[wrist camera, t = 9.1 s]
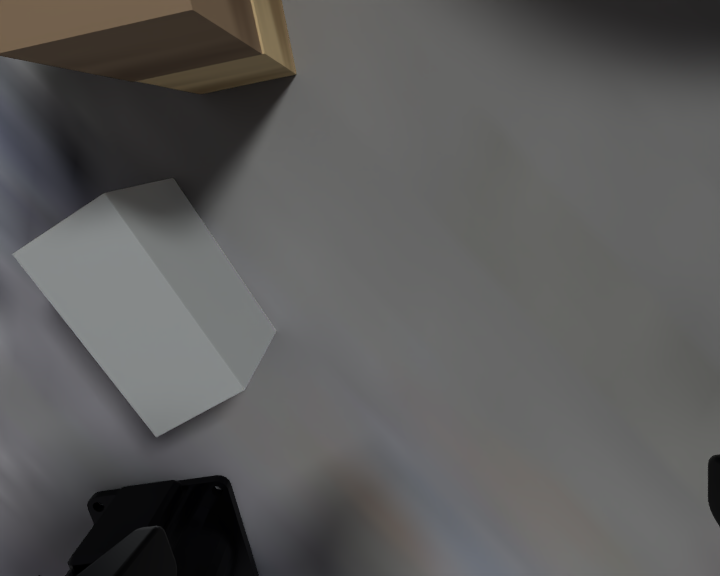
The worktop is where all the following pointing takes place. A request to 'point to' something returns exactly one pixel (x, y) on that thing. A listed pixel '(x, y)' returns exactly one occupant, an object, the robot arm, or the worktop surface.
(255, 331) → the grey brick
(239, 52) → the walnut brick
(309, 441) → the worktop surface
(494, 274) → the worktop surface
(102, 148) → the worktop surface
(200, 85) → the oak brick
